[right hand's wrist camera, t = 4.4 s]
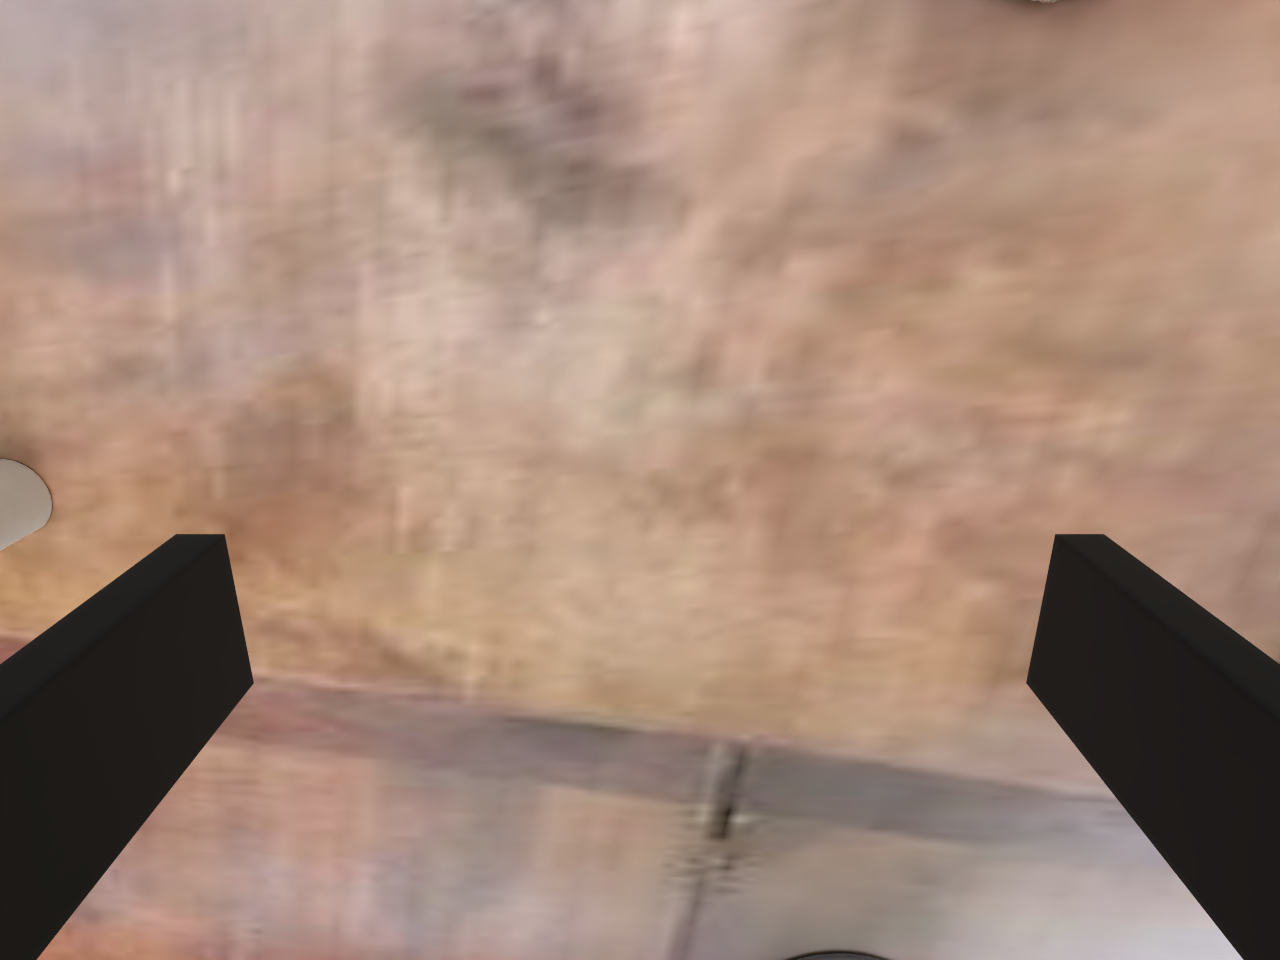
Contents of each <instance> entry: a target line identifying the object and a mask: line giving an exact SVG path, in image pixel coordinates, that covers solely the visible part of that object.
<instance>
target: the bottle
mask: <svg viewBox="0 0 1280 960" xmlns="http://www.w3.org/2000/svg"><path fill="white" fill-rule="evenodd" d="M51 511H52V500H51V495H50V493H49V490H48V488H47V486H46V485H45V483H44V482H43V480H42V479H41V478H40V477H39V476H38V475H37V474H36V473H35V472H34V471H32V470H31V469H30V468H28V467H27V466H25V465H23V464H21V463H18V462H16V461H12V460H7V459H0V551H1V550H3V549H4V548H6V547H8V546H10V545H12V544H13V543H15V542H17V541H19V540H21V539H22V538H24V537H26V536H28V535H29V534H31V533H33V532H35V531H37V530H38V529H40V528H41V527H43V526H44V525H45V524H46V522H47V521H48V519H49V517H50V515H51Z"/></svg>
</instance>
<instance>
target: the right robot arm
mask: <svg viewBox="0 0 1280 960" xmlns="http://www.w3.org/2000/svg"><path fill="white" fill-rule="evenodd" d="M253 683H254V682H253V677H252V672H251V667H250V662H249V657H248V652H247V646H246V641H245V636H244V631H243V626H242V621H241V616H240V611H239V606H238V600H237V595H236V590H235V585H234V580H233V575H232V570H231V565H230V560H229V554H228V549H227V544H226V539H225V534H176V535H175V536H173V537H172V538H170V539H169V540H168V541H166V542H165V543H164V544H162V545H161V546H160V547H158V548H157V549H156V550H154V551H153V552H152V553H150V554H149V555H147V556H146V557H145V558H143V559H142V560H141V561H139V562H138V563H137V564H135V565H134V566H133V567H131V568H130V569H129V570H127V571H126V572H125V573H123V574H122V575H120V576H119V577H118V578H116V579H115V580H114V581H112V582H111V583H110V584H108V585H107V586H106V587H104V588H103V589H102V590H100V591H99V592H97V593H96V594H95V595H93V596H92V597H91V598H89V599H88V600H87V601H85V602H84V603H83V604H81V605H80V606H79V607H77V608H76V609H75V610H73V611H72V612H70V613H69V614H68V615H66V616H65V617H64V618H62V619H61V620H60V621H58V622H57V623H56V624H54V625H53V626H52V627H50V628H49V629H47V630H46V631H45V632H43V633H42V634H41V635H39V636H38V637H37V638H35V639H34V640H33V641H31V642H30V643H29V644H27V645H26V646H25V647H23V648H22V649H20V650H19V651H18V652H16V653H15V654H14V655H12V656H11V657H10V658H8V659H7V660H6V661H4V662H3V663H2V664H0V960H37V958H38V957H39V956H40V954H41V953H42V952H43V951H44V949H45V948H46V947H47V946H48V944H49V943H50V942H51V940H52V939H53V938H54V937H55V935H56V934H57V933H58V932H59V930H60V929H61V928H62V926H63V925H64V924H65V923H66V921H67V920H68V919H69V918H70V916H71V915H72V914H73V912H74V911H75V910H76V909H77V907H78V906H79V905H80V904H81V902H82V901H83V900H84V898H85V897H86V896H87V895H88V893H89V892H90V891H91V890H92V888H93V887H94V886H95V884H96V883H97V882H98V881H99V879H100V878H101V877H102V876H103V874H104V873H105V872H106V870H107V869H108V868H109V867H110V865H111V864H112V863H113V862H114V860H115V859H116V858H117V856H118V855H119V854H120V853H121V851H122V850H123V849H124V848H125V846H126V845H127V844H128V842H129V841H130V840H131V839H132V837H133V836H134V835H135V834H136V832H137V831H138V830H139V828H140V827H141V826H142V825H143V823H144V822H145V821H146V820H147V818H148V817H149V816H150V814H151V813H152V812H153V811H154V809H155V808H156V807H157V805H158V804H159V803H160V802H161V800H162V799H163V798H164V797H165V795H166V794H167V793H168V791H169V790H170V789H171V788H172V786H173V785H174V784H175V783H176V781H177V780H178V779H179V777H180V776H181V775H182V774H183V772H184V771H185V770H186V769H187V767H188V766H189V765H190V763H191V762H192V761H193V760H194V758H195V757H196V756H197V755H198V753H199V752H200V751H201V749H202V748H203V747H204V746H205V744H206V743H207V742H208V741H209V739H210V738H211V737H212V735H213V734H214V733H215V732H216V730H217V729H218V728H219V727H220V725H221V724H222V723H223V721H224V720H225V719H226V718H227V716H228V715H229V714H230V713H231V711H232V710H233V709H234V707H235V706H236V705H237V704H238V702H239V701H240V700H241V699H242V697H243V696H244V695H245V693H246V692H247V691H248V690H249V688H250V687H251V686H252V685H253ZM1026 683H1027V685H1028V686H1029V687H1030V688H1031V690H1032V691H1033V692H1034V693H1035V695H1036V696H1037V697H1038V699H1039V700H1040V701H1041V702H1042V704H1043V705H1044V706H1045V707H1046V709H1047V710H1048V711H1049V713H1050V714H1051V715H1052V716H1053V718H1054V719H1055V720H1056V721H1057V723H1058V724H1059V725H1060V727H1061V728H1062V729H1063V730H1064V732H1065V733H1066V734H1067V735H1068V737H1069V738H1070V739H1071V741H1072V742H1073V743H1074V744H1075V746H1076V747H1077V748H1078V749H1079V751H1080V752H1081V753H1082V755H1083V756H1084V757H1085V758H1086V760H1087V761H1088V762H1089V763H1090V765H1091V766H1092V767H1093V769H1094V770H1095V771H1096V772H1097V774H1098V775H1099V776H1100V777H1101V779H1102V780H1103V781H1104V783H1105V784H1106V785H1107V786H1108V788H1109V789H1110V790H1111V791H1112V793H1113V794H1114V795H1115V797H1116V798H1117V799H1118V800H1119V802H1120V803H1121V804H1122V805H1123V807H1124V808H1125V809H1126V811H1127V812H1128V813H1129V814H1130V816H1131V817H1132V818H1133V820H1134V821H1135V822H1136V823H1137V825H1138V826H1139V827H1140V828H1141V830H1142V831H1143V832H1144V834H1145V835H1146V836H1147V837H1148V839H1149V840H1150V841H1151V842H1152V844H1153V845H1154V846H1155V848H1156V849H1157V850H1158V851H1159V853H1160V854H1161V855H1162V856H1163V858H1164V859H1165V860H1166V862H1167V863H1168V864H1169V865H1170V867H1171V868H1172V869H1173V870H1174V872H1175V873H1176V874H1177V876H1178V877H1179V878H1180V879H1181V881H1182V882H1183V883H1184V884H1185V886H1186V887H1187V888H1188V890H1189V891H1190V892H1191V893H1192V895H1193V896H1194V897H1195V898H1196V900H1197V901H1198V902H1199V904H1200V905H1201V906H1202V907H1203V909H1204V910H1205V911H1206V912H1207V914H1208V915H1209V916H1210V918H1211V919H1212V920H1213V921H1214V923H1215V924H1216V925H1217V926H1218V928H1219V929H1220V930H1221V932H1222V933H1223V934H1224V935H1225V937H1226V938H1227V939H1228V940H1229V942H1230V943H1231V944H1232V946H1233V947H1234V948H1235V949H1236V951H1237V952H1238V953H1239V954H1240V956H1241V957H1242V958H1243V960H1280V664H1278V663H1277V662H1276V661H1274V660H1273V659H1272V658H1270V657H1269V656H1268V655H1266V654H1265V653H1264V652H1262V651H1261V650H1260V649H1258V648H1257V647H1255V646H1254V645H1253V644H1251V643H1250V642H1249V641H1247V640H1246V639H1245V638H1243V637H1242V636H1241V635H1239V634H1238V633H1237V632H1235V631H1234V630H1233V629H1231V628H1230V627H1228V626H1227V625H1226V624H1224V623H1223V622H1222V621H1220V620H1219V619H1218V618H1216V617H1215V616H1214V615H1212V614H1211V613H1210V612H1208V611H1207V610H1205V609H1204V608H1203V607H1201V606H1200V605H1199V604H1197V603H1196V602H1195V601H1193V600H1192V599H1191V598H1189V597H1188V596H1187V595H1185V594H1184V593H1183V592H1181V591H1180V590H1178V589H1177V588H1176V587H1174V586H1173V585H1172V584H1170V583H1169V582H1168V581H1166V580H1165V579H1164V578H1162V577H1161V576H1160V575H1158V574H1157V573H1155V572H1154V571H1153V570H1151V569H1150V568H1149V567H1147V566H1146V565H1145V564H1143V563H1142V562H1141V561H1139V560H1138V559H1137V558H1135V557H1134V556H1133V555H1131V554H1130V553H1128V552H1127V551H1126V550H1124V549H1123V548H1122V547H1120V546H1119V545H1118V544H1116V543H1115V542H1114V541H1112V540H1111V539H1110V538H1108V537H1107V536H1105V535H1104V534H1055V539H1054V544H1053V549H1052V554H1051V560H1050V565H1049V570H1048V575H1047V580H1046V585H1045V590H1044V595H1043V600H1042V606H1041V611H1040V616H1039V621H1038V626H1037V631H1036V636H1035V641H1034V646H1033V652H1032V657H1031V662H1030V667H1029V672H1028V677H1027V682H1026ZM796 960H882V959H878V958H874V957H870V956H865V955H858V954H846V953H833V954H820V955H813V956H808V957H803V958H799V959H796Z"/></svg>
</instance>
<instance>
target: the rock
mask: <svg viewBox="0 0 1280 960" xmlns="http://www.w3.org/2000/svg"><path fill="white" fill-rule="evenodd" d="M1031 1H1040V2H1041V3H1043V4H1044V3H1049V4H1050V3H1053V2H1056V1H1059V0H1031Z"/></svg>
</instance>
